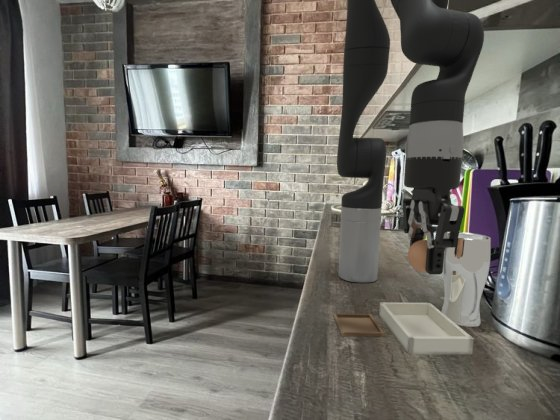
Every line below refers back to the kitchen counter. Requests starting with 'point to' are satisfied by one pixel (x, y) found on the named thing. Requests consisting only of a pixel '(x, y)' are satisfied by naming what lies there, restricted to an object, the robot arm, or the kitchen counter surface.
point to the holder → (358, 325)
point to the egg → (418, 255)
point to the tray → (425, 329)
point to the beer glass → (465, 278)
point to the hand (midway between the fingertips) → (424, 267)
